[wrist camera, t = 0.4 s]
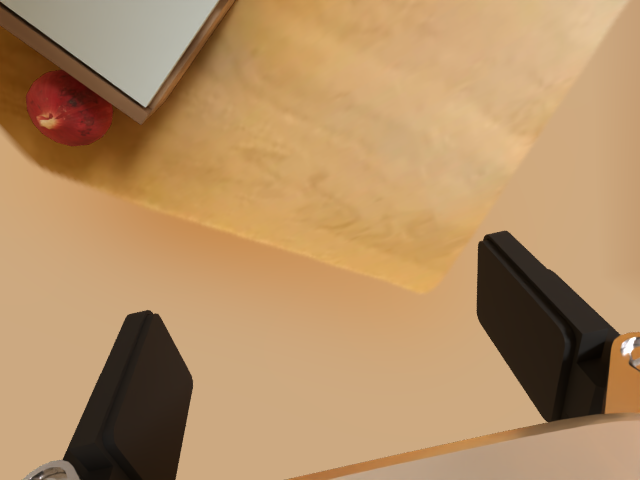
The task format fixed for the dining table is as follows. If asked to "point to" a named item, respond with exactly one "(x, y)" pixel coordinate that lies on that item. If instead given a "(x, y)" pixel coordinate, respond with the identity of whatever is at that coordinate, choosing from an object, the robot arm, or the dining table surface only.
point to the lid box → (97, 82)
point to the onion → (67, 109)
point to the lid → (121, 36)
